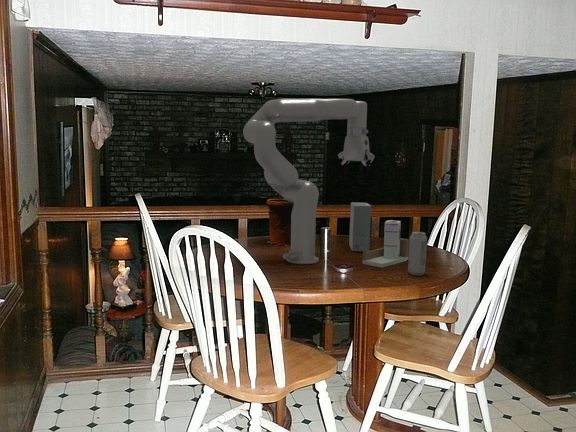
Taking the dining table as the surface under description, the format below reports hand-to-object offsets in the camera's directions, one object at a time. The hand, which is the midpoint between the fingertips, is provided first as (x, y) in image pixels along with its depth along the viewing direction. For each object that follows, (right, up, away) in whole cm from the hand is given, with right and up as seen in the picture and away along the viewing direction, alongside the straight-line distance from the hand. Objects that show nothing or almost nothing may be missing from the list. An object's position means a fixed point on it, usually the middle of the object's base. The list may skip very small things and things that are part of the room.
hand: (355, 175), depth 223 cm
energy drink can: (+19, -37, -24) cm, 48 cm away
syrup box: (+14, -33, -3) cm, 36 cm away
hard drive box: (+4, -31, +22) cm, 38 cm away
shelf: (+11, -35, -5) cm, 37 cm away
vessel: (-30, -29, +31) cm, 52 cm away
